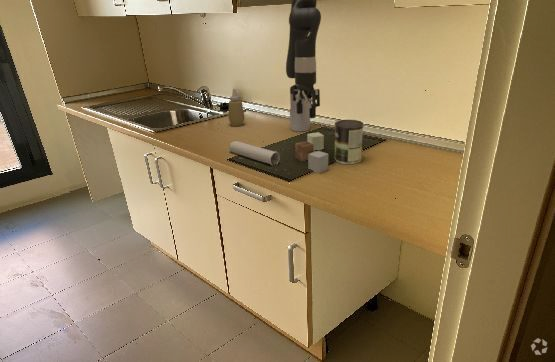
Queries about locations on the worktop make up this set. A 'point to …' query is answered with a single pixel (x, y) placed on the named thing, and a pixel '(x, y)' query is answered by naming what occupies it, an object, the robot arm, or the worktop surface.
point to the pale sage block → (316, 140)
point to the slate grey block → (318, 161)
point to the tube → (255, 152)
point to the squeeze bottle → (236, 110)
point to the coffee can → (348, 141)
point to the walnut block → (303, 150)
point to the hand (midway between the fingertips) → (305, 115)
